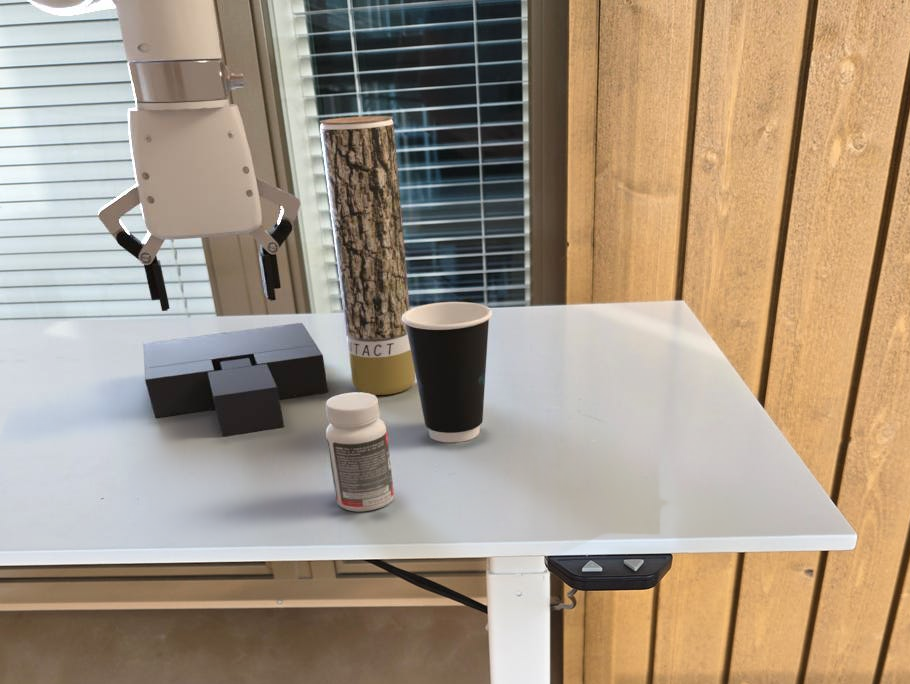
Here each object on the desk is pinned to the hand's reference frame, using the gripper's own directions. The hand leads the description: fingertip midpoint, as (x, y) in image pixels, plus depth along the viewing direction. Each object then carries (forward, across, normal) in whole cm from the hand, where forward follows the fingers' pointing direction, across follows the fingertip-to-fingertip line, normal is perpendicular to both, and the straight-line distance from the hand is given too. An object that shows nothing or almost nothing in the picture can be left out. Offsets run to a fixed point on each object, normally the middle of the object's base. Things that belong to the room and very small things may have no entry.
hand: (218, 302), depth 83 cm
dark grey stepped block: (+11, -1, -1) cm, 12 cm away
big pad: (+11, -1, -11) cm, 16 cm away
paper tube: (+11, -16, -3) cm, 20 cm away
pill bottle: (+11, -8, +24) cm, 27 cm away
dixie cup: (+11, -19, +13) cm, 25 cm away
